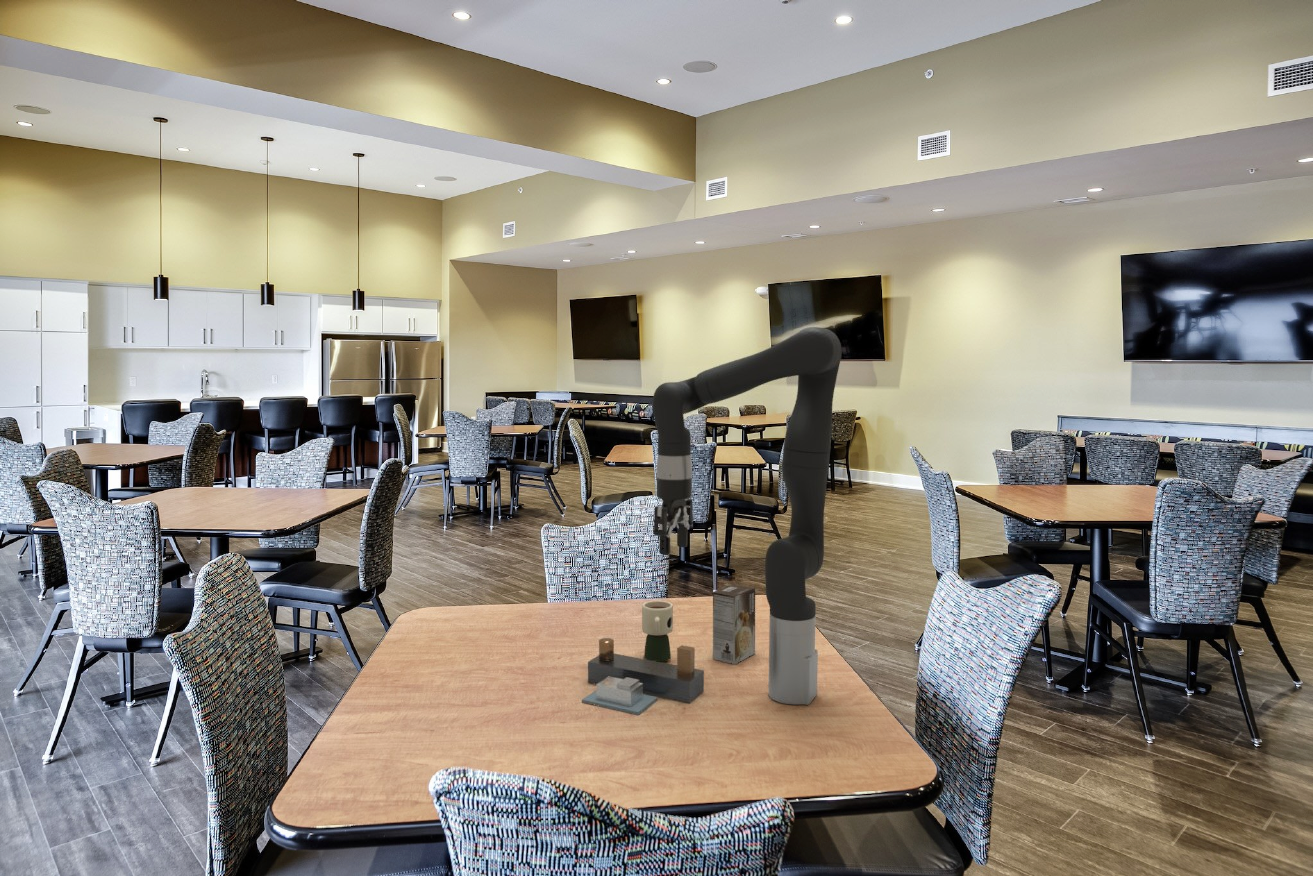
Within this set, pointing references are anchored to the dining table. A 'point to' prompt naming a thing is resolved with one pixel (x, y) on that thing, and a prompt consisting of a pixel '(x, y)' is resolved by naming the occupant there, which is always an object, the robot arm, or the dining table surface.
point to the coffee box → (733, 623)
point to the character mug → (657, 629)
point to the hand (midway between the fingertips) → (673, 550)
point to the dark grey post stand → (650, 672)
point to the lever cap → (620, 690)
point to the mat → (634, 709)
